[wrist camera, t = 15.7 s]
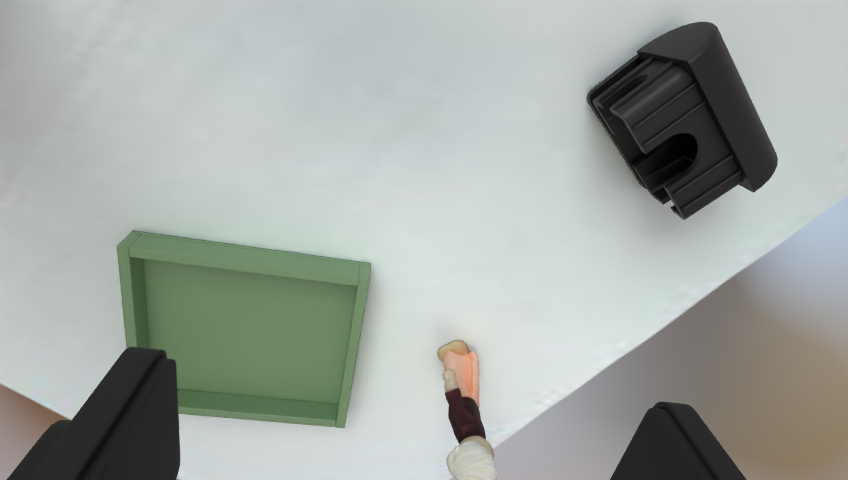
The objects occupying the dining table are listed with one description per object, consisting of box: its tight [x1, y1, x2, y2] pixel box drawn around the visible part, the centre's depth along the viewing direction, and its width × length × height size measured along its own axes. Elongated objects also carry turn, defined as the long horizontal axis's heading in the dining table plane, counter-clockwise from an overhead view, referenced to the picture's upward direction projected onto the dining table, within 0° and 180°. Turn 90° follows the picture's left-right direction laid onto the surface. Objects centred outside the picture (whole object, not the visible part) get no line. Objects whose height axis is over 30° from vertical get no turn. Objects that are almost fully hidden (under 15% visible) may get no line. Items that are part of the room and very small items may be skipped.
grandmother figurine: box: [437, 340, 497, 480], centre depth 37 cm, size 8×4×13 cm, turn 29°
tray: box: [117, 231, 371, 428], centre depth 39 cm, size 18×16×2 cm
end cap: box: [587, 22, 778, 220], centre depth 31 cm, size 10×7×7 cm
